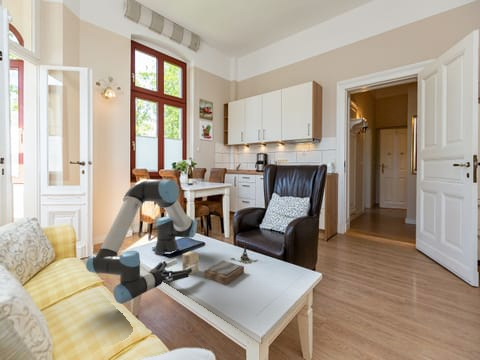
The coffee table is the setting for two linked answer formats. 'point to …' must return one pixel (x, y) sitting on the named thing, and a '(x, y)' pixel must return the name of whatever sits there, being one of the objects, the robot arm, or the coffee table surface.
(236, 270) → the walnut frame
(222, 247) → the coffee table surface
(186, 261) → the oak block
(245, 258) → the eiffel tower figurine
